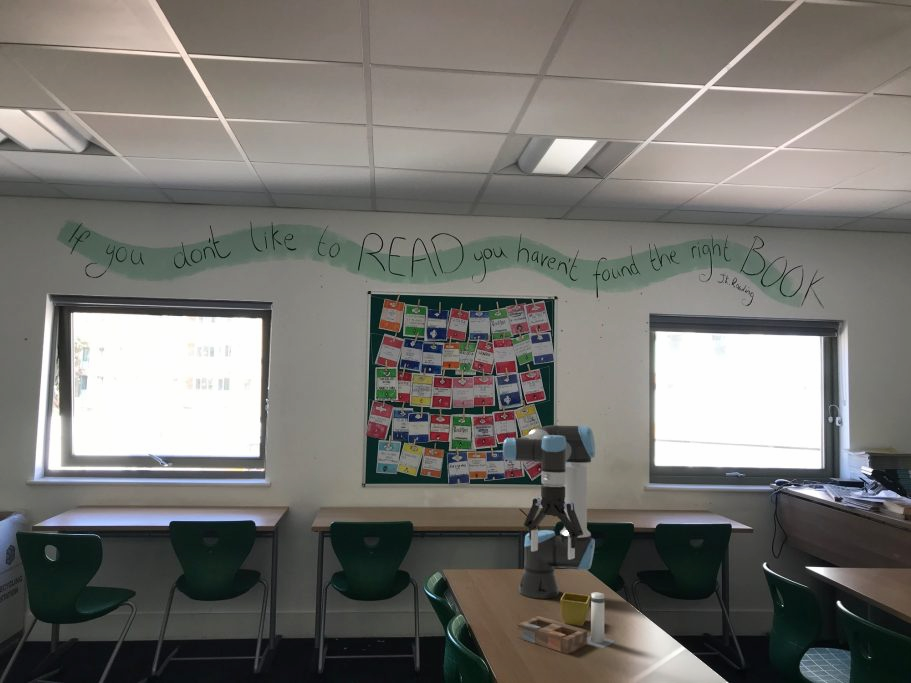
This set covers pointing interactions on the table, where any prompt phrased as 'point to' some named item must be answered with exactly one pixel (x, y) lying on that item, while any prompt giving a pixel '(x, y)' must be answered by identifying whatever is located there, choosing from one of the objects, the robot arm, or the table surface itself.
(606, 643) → the mat
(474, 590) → the table surface
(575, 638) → the socket block
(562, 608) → the flower pot
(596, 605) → the plug
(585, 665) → the table surface
